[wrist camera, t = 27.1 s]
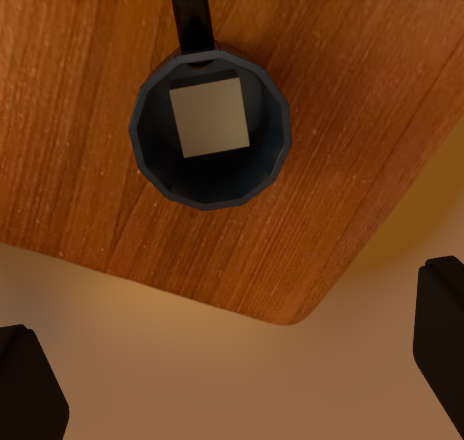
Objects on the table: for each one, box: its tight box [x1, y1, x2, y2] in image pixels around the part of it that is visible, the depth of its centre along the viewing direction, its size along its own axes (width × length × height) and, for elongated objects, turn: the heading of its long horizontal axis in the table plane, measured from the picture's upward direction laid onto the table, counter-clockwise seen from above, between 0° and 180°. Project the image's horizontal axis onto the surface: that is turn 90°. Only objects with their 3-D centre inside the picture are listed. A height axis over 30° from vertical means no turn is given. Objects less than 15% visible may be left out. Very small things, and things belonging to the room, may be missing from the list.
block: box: [169, 69, 250, 158], centre depth 32 cm, size 5×5×5 cm
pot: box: [128, 0, 292, 211], centre depth 29 cm, size 10×10×18 cm
